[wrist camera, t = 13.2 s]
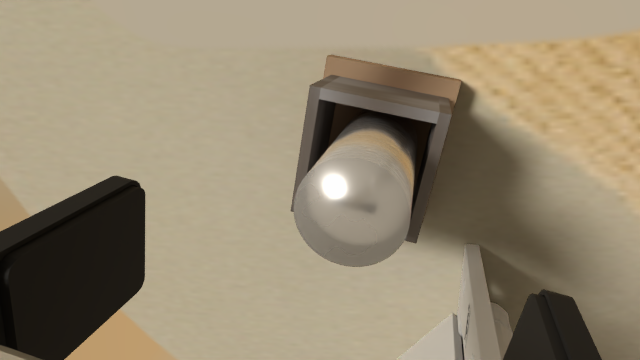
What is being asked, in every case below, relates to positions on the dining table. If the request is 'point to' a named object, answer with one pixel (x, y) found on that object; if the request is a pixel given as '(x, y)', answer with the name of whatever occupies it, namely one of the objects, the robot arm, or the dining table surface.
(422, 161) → the open cube shadow box
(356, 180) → the hinge pin
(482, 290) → the hinge
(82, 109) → the dining table surface
